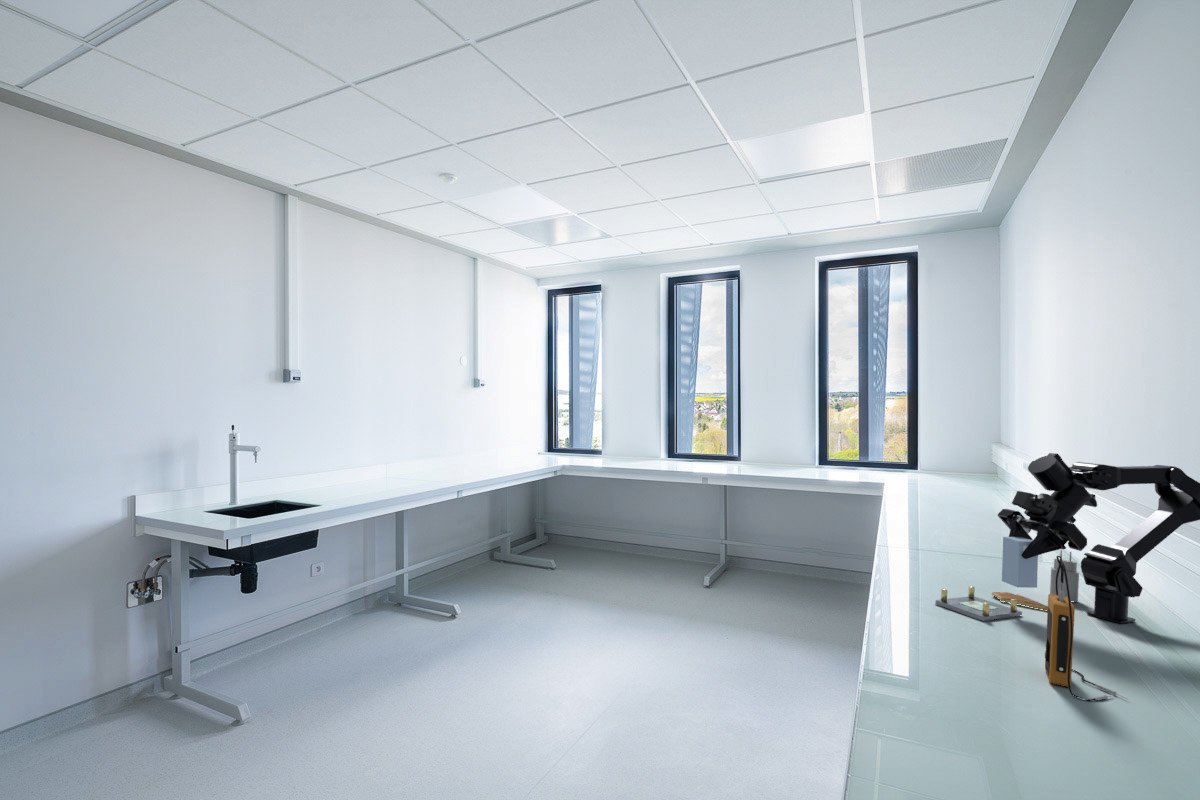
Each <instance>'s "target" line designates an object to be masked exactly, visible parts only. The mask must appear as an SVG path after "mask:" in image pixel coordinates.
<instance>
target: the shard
mask: <svg viewBox="0 0 1200 800" xmlns="http://www.w3.org/2000/svg"><path fill="white" fill-rule="evenodd" d="M990 593H991V596H993V595H994V596H996V597H998V598H999V599H1000V600H1001V601H1005V602H1010V603H1011V599H1015V600H1017V604H1021V605H1025V606H1029V607H1033V608H1038V609H1043V610H1047V611H1048V605H1046V604H1044V603H1041V602H1039V601H1036V600H1034V599H1031V598H1029V597H1026V596H1023V595H1020V594H1015V593H1012V592H1007V591H1004V592H1003V591H1001V592H1000V591H993V592H990Z"/></svg>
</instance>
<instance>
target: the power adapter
mask: <svg viewBox="0 0 1200 800" xmlns="http://www.w3.org/2000/svg"><path fill="white" fill-rule="evenodd" d="M1062 550H1063V549H1060V553H1059V556H1061V558H1062V562H1063V563H1064V565H1065V569H1066V574H1067V580H1068V586H1069V594H1070V601H1074V602H1078V603H1079V588H1080V587H1079V586H1080V584H1079V583H1080V582H1079V581H1080V572H1079V571H1077V568H1078V567H1077V565H1078V562H1076V561H1074V560H1072V551H1069V559H1063V551H1062ZM1059 561H1060V558H1059ZM1061 565H1062V563H1061ZM1058 567H1059V563H1058V560H1057V558H1054V559H1053V567H1051V568H1050V583H1049V585H1050V587H1049V594H1053V595H1057V594H1056V575H1057V570H1058ZM1060 581H1061V568H1060V570H1059V574H1058V582H1057V587H1058V595H1059V589H1060ZM1063 583H1064V586H1063V587H1064V588H1063V589H1064V597H1068V594H1067V586H1066V580H1065V574H1064V579H1063Z"/></svg>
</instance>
